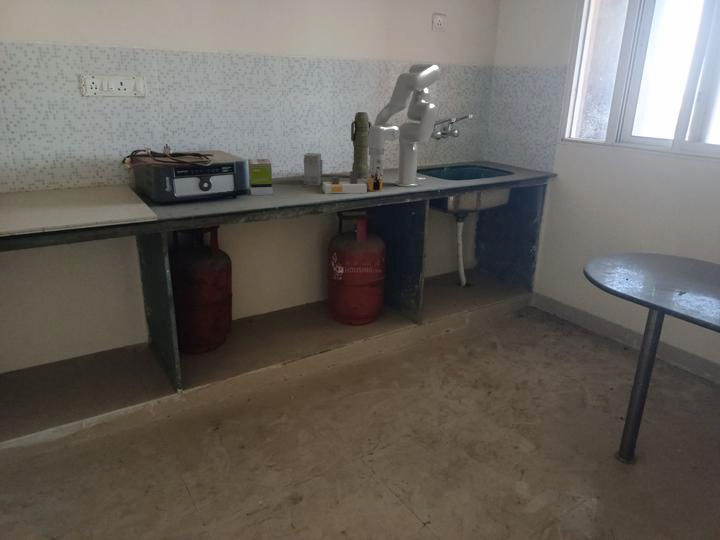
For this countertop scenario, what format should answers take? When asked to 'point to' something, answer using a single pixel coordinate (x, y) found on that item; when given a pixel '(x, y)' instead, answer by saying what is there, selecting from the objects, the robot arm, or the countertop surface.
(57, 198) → the countertop surface
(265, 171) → the tea box
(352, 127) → the thermos
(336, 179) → the tagged toggle
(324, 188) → the breaker panel
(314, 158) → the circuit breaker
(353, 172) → the plain toggle
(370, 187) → the orange cube
